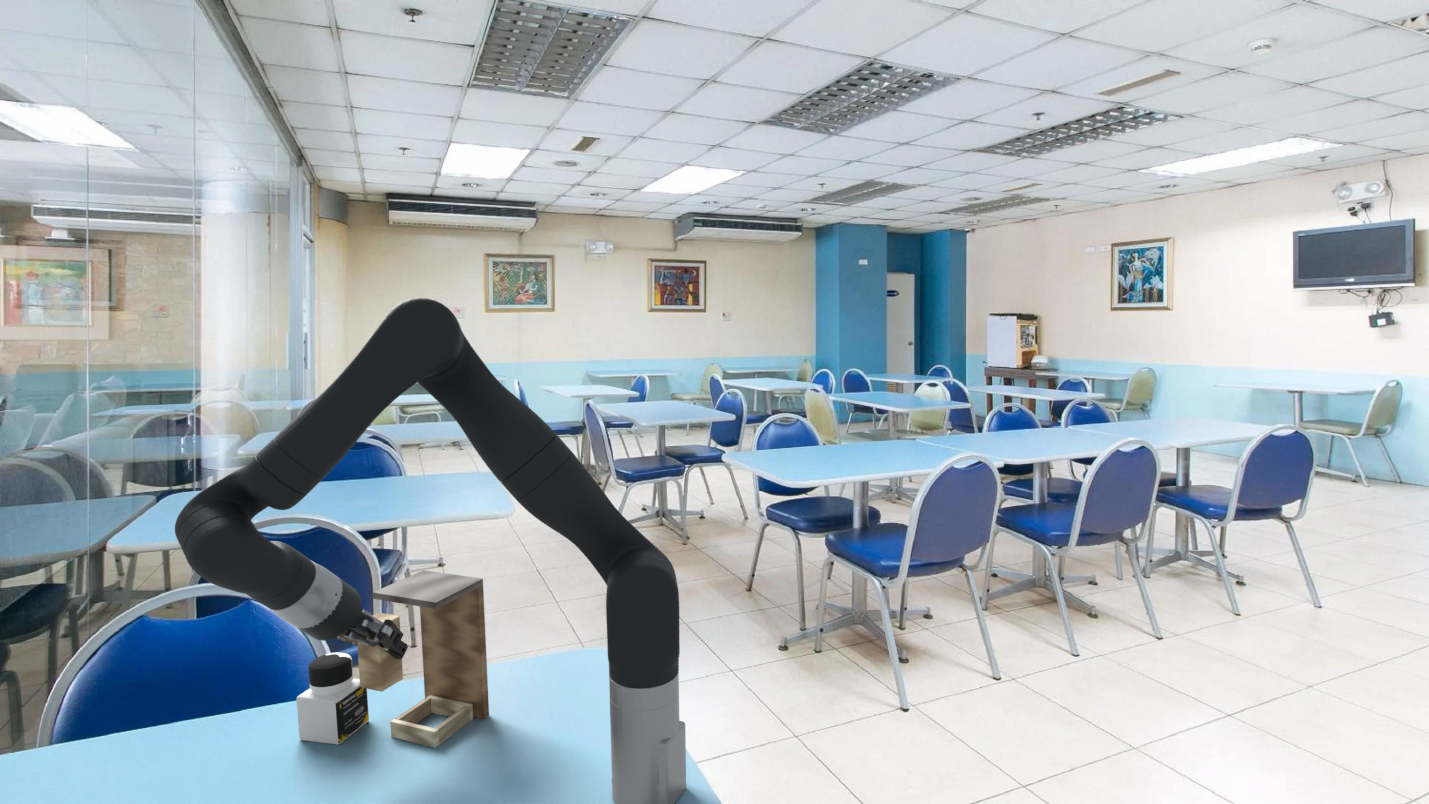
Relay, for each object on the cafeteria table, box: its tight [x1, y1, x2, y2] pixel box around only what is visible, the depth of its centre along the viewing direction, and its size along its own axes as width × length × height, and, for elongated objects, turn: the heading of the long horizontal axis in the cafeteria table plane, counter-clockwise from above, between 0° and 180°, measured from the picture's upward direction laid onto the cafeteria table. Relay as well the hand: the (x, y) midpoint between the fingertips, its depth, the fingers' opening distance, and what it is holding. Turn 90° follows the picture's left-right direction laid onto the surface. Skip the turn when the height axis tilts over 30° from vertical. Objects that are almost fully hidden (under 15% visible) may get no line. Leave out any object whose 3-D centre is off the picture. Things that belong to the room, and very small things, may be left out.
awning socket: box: [372, 570, 490, 749], centre depth 116 cm, size 12×11×23 cm
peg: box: [356, 612, 404, 693], centre depth 106 cm, size 4×4×10 cm
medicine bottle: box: [296, 651, 370, 745], centre depth 116 cm, size 7×7×12 cm
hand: (390, 650), depth 108 cm, fingers closed on peg, 4 cm apart
